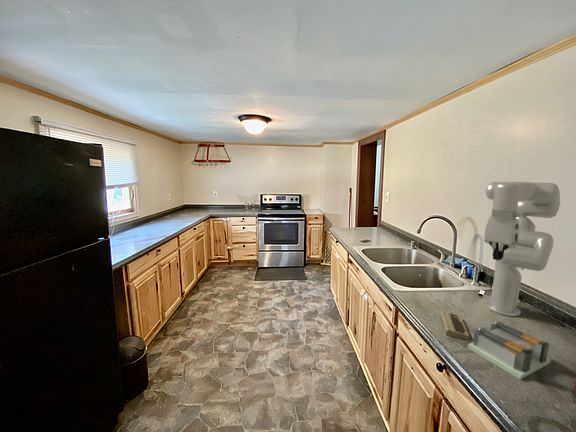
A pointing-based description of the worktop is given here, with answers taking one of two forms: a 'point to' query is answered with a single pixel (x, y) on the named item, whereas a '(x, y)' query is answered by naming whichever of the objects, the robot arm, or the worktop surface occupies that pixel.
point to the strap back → (519, 333)
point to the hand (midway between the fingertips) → (497, 259)
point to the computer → (454, 325)
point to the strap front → (503, 340)
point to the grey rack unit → (508, 353)
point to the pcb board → (515, 372)
